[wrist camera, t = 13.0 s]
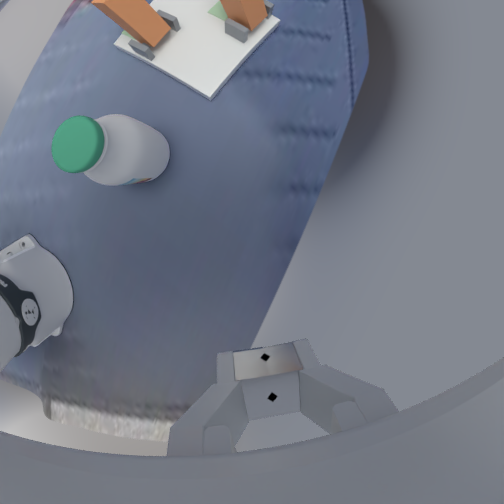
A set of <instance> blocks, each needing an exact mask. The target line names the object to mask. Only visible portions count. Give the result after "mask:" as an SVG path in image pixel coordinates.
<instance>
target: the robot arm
mask: <svg viewBox="0 0 504 504" xmlns="http://www.w3.org/2000/svg"><path fill="white" fill-rule="evenodd" d="M24 243H25V245H24ZM72 306H73V291H72V286H71V283H70V280H69V277H68V275H67V273H66V271H65V269H64V267H63V266H62V264H61V263H60V262H59V260H58V259H57V258H56V257H55V256H54V255H53V254H51V253H50V252H49V251H47V250H45V249H44V248H42V247H41V246H40V245H39V244H38V242H37V241H36V240H35V238H34V237H33V236H32V235H30V234H27V235H25V236H24V237H22V238H20V239H19V240H17V241H16V242H14V243H12V244H11V245H9V246H8V247H6V248H5V249H3V250H1V251H0V373H1V371H2V370H3V369H4V368H5V366H6V365H7V364H8V363H9V362H10V361H11V359H12V358H13V357H17V356H19V355H20V354H21V353H23V352H24V351H25V350H26V349H27V348H28V347H29V346H34V347H36V346H38V345H39V344H40V343H41V342H43V341H44V340H45V339H46V338H47V337H49V336H50V335H53V336H58V335H59V334H61V332H62V328H63V323H64V321H65V320H66V318H67V317H68V316H69V314H70V312H71V310H72ZM300 411H301V413H302V414H303V415H305V416H306V417H307V418H309V419H310V420H312V421H313V422H314V423H316V424H317V425H319V426H320V427H321V428H322V429H324V430H325V431H327V432H328V433H329V434H330V435H326V436H322V437H319V438H314V439H310V440H306V441H301V442H297V443H292V444H287V445H282V446H276V447H271V448H264V449H258V450H251V451H243V452H237V451H236V448H235V445H236V444H237V442H238V440H239V439H240V437H241V435H242V433H243V431H244V430H245V428H246V426H247V425H248V423H249V421H250V420H256V419H261V418H267V417H272V416H278V415H284V414H289V413H295V412H300ZM0 504H504V357H503V358H502V359H500V360H499V361H497V362H495V363H494V364H492V365H491V366H489V367H487V368H486V369H484V370H483V371H481V372H479V373H477V374H476V375H474V376H472V377H471V378H469V379H467V380H465V381H463V382H461V383H460V384H458V385H456V386H454V387H452V388H450V389H448V390H446V391H444V392H442V393H440V394H438V395H436V396H434V397H432V398H430V399H428V400H425V401H423V402H421V403H419V404H416V405H414V406H412V407H410V408H407V409H405V410H402V411H400V412H399V411H398V409H397V408H396V406H395V405H394V403H393V402H392V401H391V399H390V398H389V396H388V395H387V393H386V392H385V391H384V389H382V388H380V387H377V386H375V385H372V384H370V383H367V382H365V381H362V380H360V379H358V378H355V377H353V376H350V375H348V374H346V373H343V372H341V371H339V370H337V369H334V368H332V367H329V366H327V365H321V364H320V362H319V361H318V359H317V357H316V355H315V353H314V351H313V349H312V347H311V345H310V343H309V341H308V339H306V338H305V339H301V340H297V341H292V342H289V343H284V344H279V345H274V346H268V347H264V348H263V347H260V348H253V349H245V350H238V351H233V352H232V351H229V352H222V353H218V354H217V384H212V385H211V386H210V387H209V389H208V390H207V391H206V392H205V393H204V394H203V395H202V396H201V397H200V398H199V399H198V400H197V401H196V402H195V403H194V404H193V405H192V406H191V407H190V408H189V409H188V410H187V411H186V412H185V414H184V415H183V416H182V417H181V418H180V419H179V420H178V421H177V422H176V423H175V424H174V425H173V426H172V427H171V428H170V434H169V441H168V449H167V456H135V455H120V454H119V455H118V454H109V453H100V452H91V451H84V450H78V449H72V448H66V447H61V446H56V445H51V444H46V443H42V442H38V441H33V440H29V439H25V438H22V437H18V436H15V435H12V434H8V433H5V432H2V431H0Z"/></svg>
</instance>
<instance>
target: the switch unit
mask: <svg viewBox="0 0 504 504" xmlns="http://www.w3.org/2000/svg"><path fill="white" fill-rule="evenodd" d="M264 4H265V7H266V11H267V14H268V16H267V17H266V18H265V19H264V20H263V21H262V22H261V23H260V24H259V25H257V26H256V27H255V28H254V29H253V30H252V31H250V30H249V29H248V28H246V27H244V26H243V25H241V24H239V23H237V22H235V21H233V20H232V19H230V18H228V16H227V14H226V12H225V10H224V8H223V6H222V4H221V2H220V0H153V1H152V2H151V3H150V4H149V5H150V6H151V7H152V8H153V9H154V10H155V11H156V12H157V13H158V14H159V15H160V16H161V18H162V19H163V20H164V21H165V22H166V23H167V24H168V25H169V26H170V27H171V29H170V30H169V31H168V32H167V33H166V35H165V36H164V37H163V38H162V39H161V40H160V41H159V42H158V43H157V45H156V46H155V47H151V48H149V47H147V46H145V45H143V44H141V43H139V42H138V41H137V40H136V39H135V38H133V37H132V36H131V35H130V34H129V33H128V32H126V31H125V30H124V31H123V32H122V35H121V36H120V37H119V38H118V39H117V41H116V42H115V43H114V45H115V46H116V47H117V48H118V49H120V50H122V51H124V52H126V53H128V54H130V55H132V56H134V57H136V58H138V59H139V60H141V61H143V62H145V63H147V64H149V65H151V66H152V67H154V68H156V69H158V70H160V71H162V72H163V73H165V74H167V75H169V76H170V77H172V78H174V79H176V80H177V81H179V82H181V83H182V84H184V85H186V86H187V87H189V88H191V89H192V90H194V91H196V92H197V93H199V94H200V95H202V96H204V97H205V98H207V99H208V100H210V101H211V100H212V99H213V98H214V97H215V95H216V94H217V93H218V92H219V91H220V89H221V88H222V87H223V86H224V85H225V83H226V82H227V81H228V80H229V79H230V77H231V76H232V75H233V74H234V73H235V72H236V70H237V69H238V68H239V67H240V66H241V65H242V64H243V63H244V61H245V60H246V59H247V58H248V57H249V56H250V55H251V54H252V53H253V52H254V50H255V49H256V48H257V47H258V46H259V45H260V44H261V43H262V42H263V41H264V40H265V39H266V38H267V37H268V36H269V35H270V34H271V33H272V32H273V31H274V30H275V29H276V28H277V27H278V25H279V22H280V20H279V19H278V18H276V17H274V16H273V15H271V14H272V11H273V7H274V4H272V3H270V2H268V1H266V0H264Z"/></svg>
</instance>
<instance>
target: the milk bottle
mask: <svg viewBox="0 0 504 504" xmlns="http://www.w3.org/2000/svg"><path fill="white" fill-rule="evenodd" d="M52 156H53V159H54V162H55V163H56V165H57V166H58V167H59V168H60V169H62V170H63V171H65V172H69V173H83V172H84V174H85V175H86V176H87V177H89V178H90V179H91V180H93V181H95V182H97V183H100V184H103V185H110V186H114V185H127V184H135V183H143V182H148V181H151V180H153V179H155V178H157V177H158V176H159V175H160V174H161V173H162V172H163V171H164V170H165V168H166V166H167V164H168V161H169V157H170V149H169V145H168V142H167V140H166V138H165V137H164V136H163V135H162V134H161V133H160V132H159V131H157V130H155V129H154V128H152V127H150V126H148V125H146V124H144V123H142V122H140V121H138V120H136V119H134V118H131V117H129V116H126V115H120V114H112V115H106V116H103V117H100V118H98V119H96V120H95V119H92V118H89V117H86V116H74V117H71V118H69V119H67V120H66V121H64V122H63V123H62V124H61V125H60V126H59V128H58V129H57V131H56V133H55V135H54V137H53V141H52Z"/></svg>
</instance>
